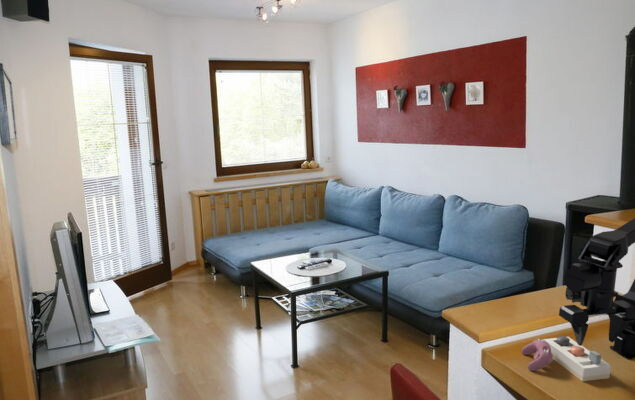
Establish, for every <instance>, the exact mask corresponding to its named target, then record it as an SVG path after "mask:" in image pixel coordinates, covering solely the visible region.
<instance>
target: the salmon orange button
mask: <svg viewBox="0 0 635 400" xmlns="http://www.w3.org/2000/svg"><path fill="white" fill-rule="evenodd" d="M584 348H585V347H584ZM584 348H582V347H579V346H572V347H571V354H572V355H574V356H575V357H582V356H584Z"/></svg>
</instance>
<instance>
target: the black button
mask: <svg viewBox="0 0 635 400" xmlns="http://www.w3.org/2000/svg"><path fill="white" fill-rule="evenodd" d="M567 337H568V336H563V335H559V336H557V337H556V338H557V344H558V345H560V346H561V347H563V346H569V341H570V339H569V338H570V337H569V338H567Z"/></svg>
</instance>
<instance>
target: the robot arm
mask: <svg viewBox="0 0 635 400" xmlns="http://www.w3.org/2000/svg"><path fill="white" fill-rule="evenodd" d="M633 244H635V217H634V218H633V219H631V220H629V221H628V222H625V223H624V224H622V225H621V226H620V227H619V226H618V227H617V228H616V229H614V230H607V231H602V232H599V233H596V234H594V235H593V236H592V237H591V236H590V239H589V240H588V242H587V243H586V245H585V246H584V248H583V250H582V251H581V254H580V255H579V256H578V258H577V261H578V262H579V263H578V262H577V263H576V262H575V263H572V267H571V268H569V269H567V270H566V271H565V273H564V275H563V282H564V284H565V286H566V289H565V292H564V293H565V294H564V295H565V299H566V300H567V301H571V303H572V304H567V305H561V306H560V307H559V312H558V316H559V317H561V318H562V319H564V320H565V321H567V322H569V324H570V325H571V328H572V330H573V334H574V337H575V342H577V344H578V345H579V346H583V343H584V341H585V338H586V334H587V331H588V328H589V323H588V322H589V317H599V316H608V318H609V326H608V341H609V342H610V343H613V345H610V346H609V349H611V350H612V351H614V352H616V353H617V354H619V355H621V356H622V357H624V358H625V359H627V360H632V359H635V278H634V280H633V282H632V284H631V286H630V288H629V290H628V291H627V292H626V293H625V294H623V295H621V294H619V292H618V291H616V281H617V280H616V279H617V273H618V272H617V271H618V269H621V268H623V264H622V263H621V262H620V261H621V260H622V259H623V258H624V257H625V256H627V254H628V252H629V247H631V246H632V245H633ZM574 303H580V306H582V307H586V308H581V307H580V306H577V305H575V304H574Z"/></svg>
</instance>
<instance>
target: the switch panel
mask: <svg viewBox="0 0 635 400" xmlns="http://www.w3.org/2000/svg"><path fill="white" fill-rule="evenodd" d="M566 337H567V338H569V339H570V341H569V346H563V347H561V346H560V345H558V344H557V337H553V338H552V337H551V338H543V339H542V340H544V341H546V342H547V343H548V344H549V345H550V347H551V353H552V354H553V358H552V359H553V360H554V361H555V362H556V363H557V364H558V365H560V366H562V367H563V368H564V369H565V370H567V371H568V372H570V373H571V374H572V375H574V377H576V378H577V379H578V380H580V381H581V382H588V381H589V382H590V381H596V380H604V379H605V380H606V379H610V375H611V367H612V365H611V364H609V362H606V361H605V360H604V359H603V358H601V362H600V364H593V365H591V363H592V361H591V360H590V359H589V355H590V351H591V350H589V349H587V348H586V347H585V346H583V345H582V346H579V345H578V344H577V341H576V340H574V339H573V338H570V336H566ZM572 346H579V347H582V348H584V356H582V357H575V356H574V355H572V354H571V347H572Z"/></svg>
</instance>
